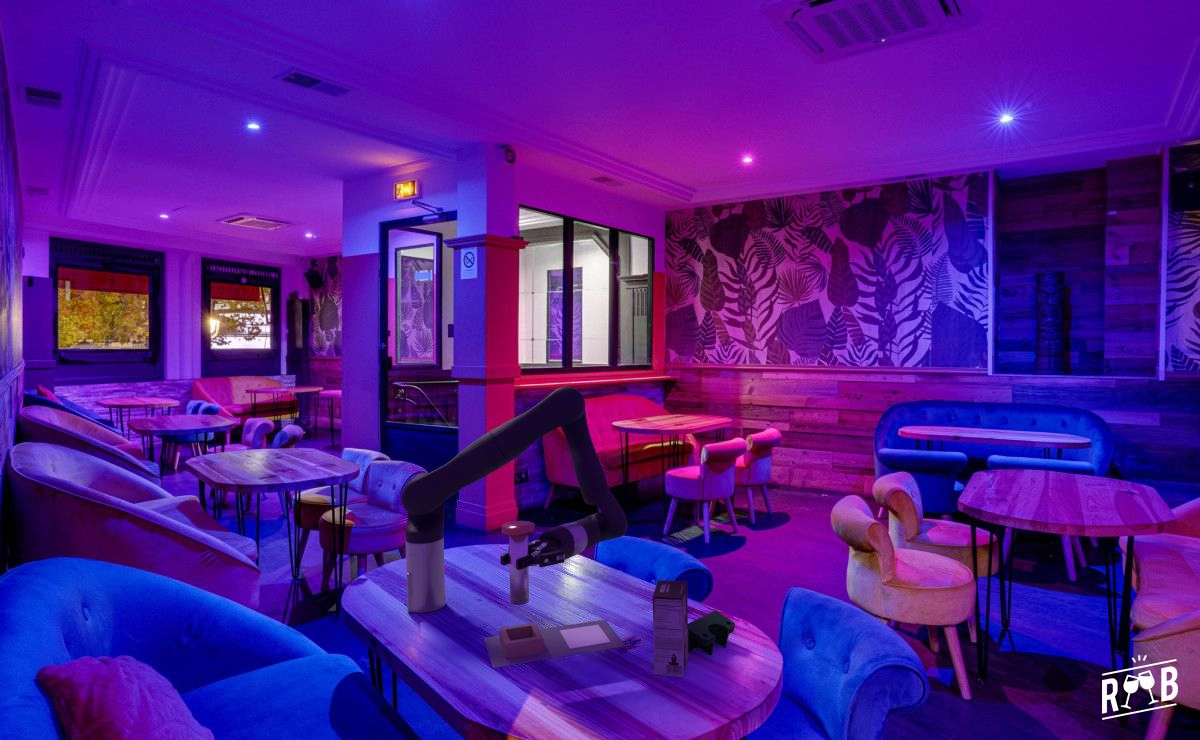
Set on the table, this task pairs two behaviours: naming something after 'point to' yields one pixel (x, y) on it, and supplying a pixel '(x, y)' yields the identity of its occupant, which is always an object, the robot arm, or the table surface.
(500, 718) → the table surface
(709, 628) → the clamp
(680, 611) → the coffee box
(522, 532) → the mushroom shaped post
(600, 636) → the board
